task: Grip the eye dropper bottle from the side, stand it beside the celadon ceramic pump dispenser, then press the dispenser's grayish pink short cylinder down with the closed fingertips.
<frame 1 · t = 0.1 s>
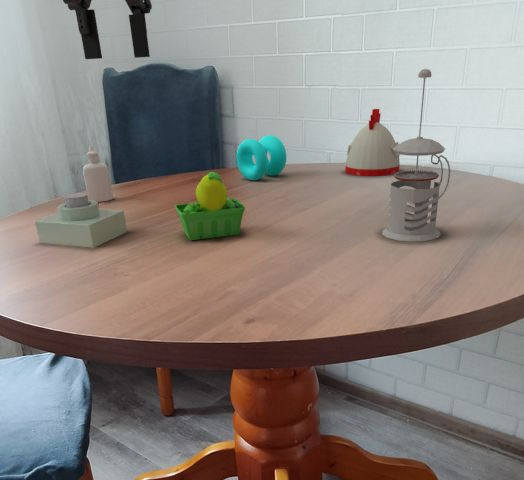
hand: (119, 58, 90), 29 cm above the table, tool pointing down, fingers open, 13 cm apart
eye dropper bottle: (101, 201, 126), on the table
dispenser: (84, 237, 99), on the table
kitchen timer: (372, 171, 142), on the table
donuts: (262, 178, 141), on the table
french press: (414, 233, 93), on the table
fruit basket: (212, 236, 97), on the table
grayish pink short cylinder: (76, 201, 96), point 7 cm above the table, slide at 0.1 cm
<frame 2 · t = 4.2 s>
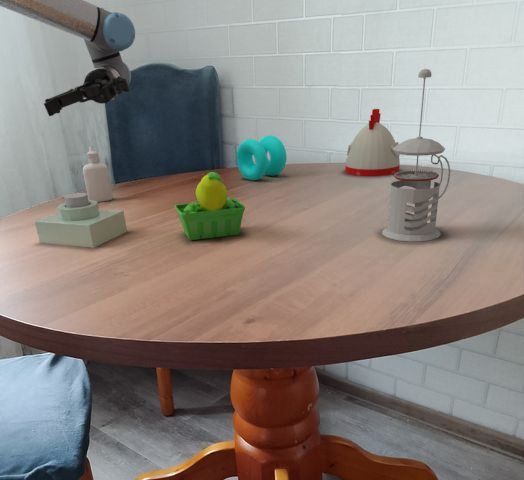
hand: (76, 102, 118), 21 cm above the table, tool horizontal, fingers open, 13 cm apart
nothing on the table moved.
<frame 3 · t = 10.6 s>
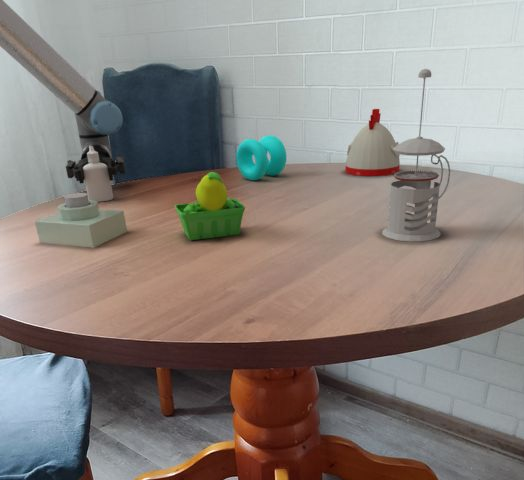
hand: (95, 175, 118), 6 cm above the table, tool horizontal, fingers closed on eye dropper bottle, 6 cm apart
eye dropper bottle: (101, 201, 126), on the table, touching gripper
everything else where it was.
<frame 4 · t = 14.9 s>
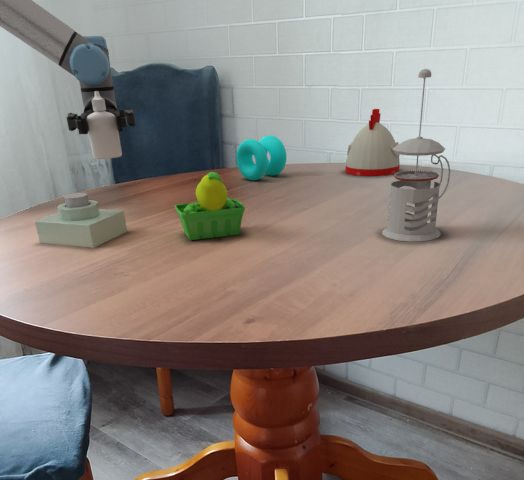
hand: (102, 125, 100), 18 cm above the table, tool horizontal, fingers closed on eye dropper bottle, 6 cm apart
eye dropper bottle: (108, 158, 108), point 11 cm above the table, touching gripper
everything else where it was.
when the fingers open (6 cm above the table, at t = 19.0 s): eye dropper bottle stays where it is, on the table.
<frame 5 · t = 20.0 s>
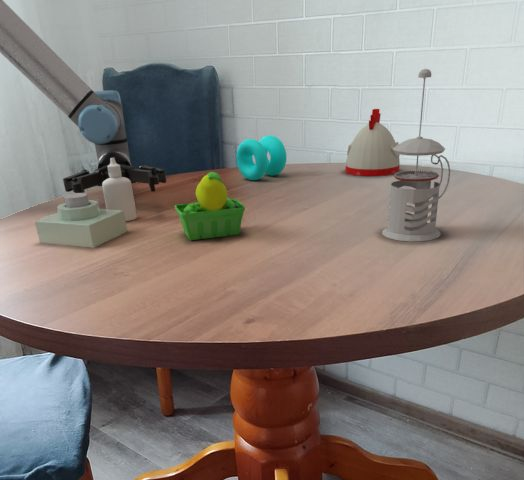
hand: (116, 187, 103), 7 cm above the table, tool horizontal, fingers open, 13 cm apart
eye dropper bottle: (123, 221, 109), on the table
everything else where it was.
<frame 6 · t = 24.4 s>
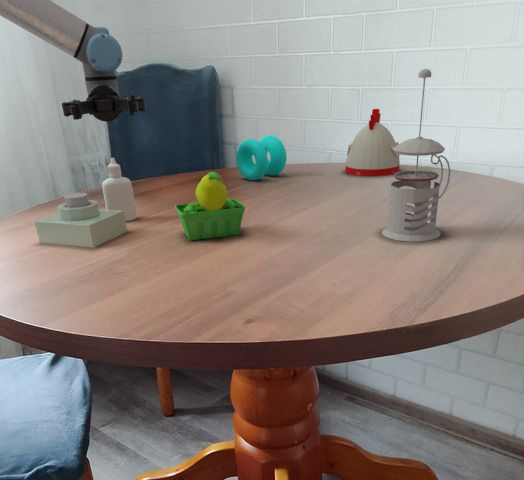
hand: (104, 109, 107), 20 cm above the table, tool horizontal, fingers open, 9 cm apart
nothing on the table moved.
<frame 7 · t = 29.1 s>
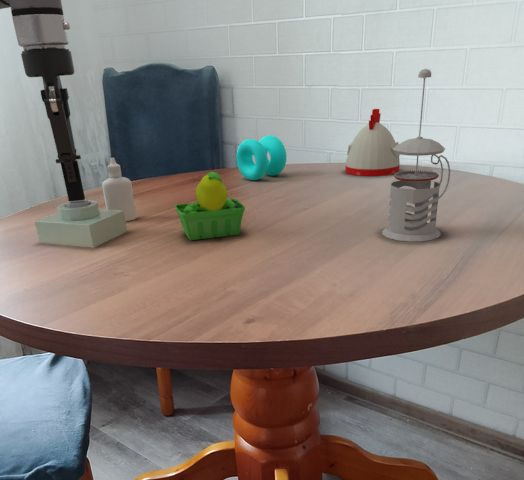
hand: (76, 199, 96), 7 cm above the table, tool pointing down, fingers closed
grayish pink short cylinder: (78, 206, 97), point 6 cm above the table, slide at -0.9 cm, touching gripper
everything else where it was.
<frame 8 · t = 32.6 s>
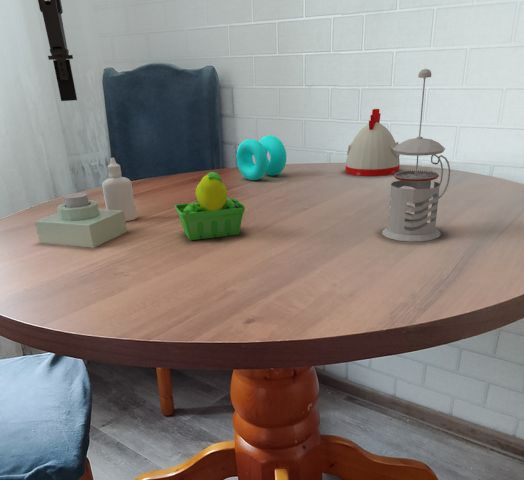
hand: (69, 100, 98), 22 cm above the table, tool pointing down, fingers closed
grayish pink short cylinder: (76, 201, 96), point 7 cm above the table, slide at 0.1 cm
everything else where it was.
at the end: grayish pink short cylinder pushed in 1.2 cm at the most during the clip, back to where it started at the end; eye dropper bottle inside the target area on the table beside the dispenser (0.0 cm from its centre), on the table; eye dropper bottle tilted 0° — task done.
